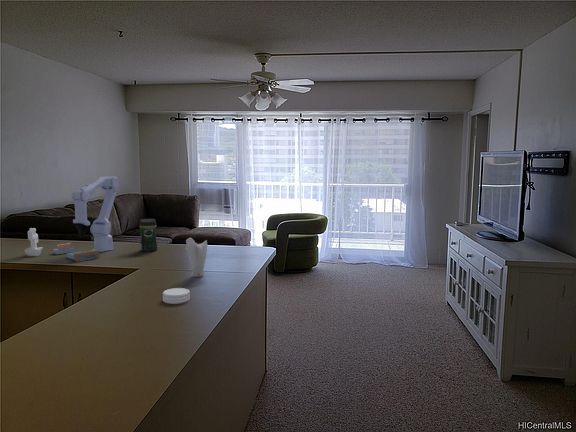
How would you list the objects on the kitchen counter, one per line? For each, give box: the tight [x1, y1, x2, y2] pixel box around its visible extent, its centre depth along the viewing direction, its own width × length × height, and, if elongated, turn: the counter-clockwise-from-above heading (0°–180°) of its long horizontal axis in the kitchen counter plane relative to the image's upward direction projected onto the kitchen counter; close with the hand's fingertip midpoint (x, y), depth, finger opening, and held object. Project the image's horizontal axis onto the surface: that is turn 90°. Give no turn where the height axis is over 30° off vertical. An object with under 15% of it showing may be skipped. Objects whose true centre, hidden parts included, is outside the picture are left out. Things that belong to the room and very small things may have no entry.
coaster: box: [162, 287, 191, 305], centre depth 166 cm, size 10×10×4 cm
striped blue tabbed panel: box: [66, 249, 100, 263], centre depth 234 cm, size 12×14×4 cm
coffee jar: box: [138, 218, 158, 252], centre depth 255 cm, size 10×8×19 cm
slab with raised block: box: [52, 242, 75, 255], centre depth 246 cm, size 9×5×5 cm, turn 143°
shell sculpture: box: [185, 237, 208, 278], centre depth 200 cm, size 8×8×18 cm
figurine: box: [23, 227, 44, 257], centre depth 239 cm, size 7×9×15 cm
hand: (82, 237), depth 238 cm, fingers closed
